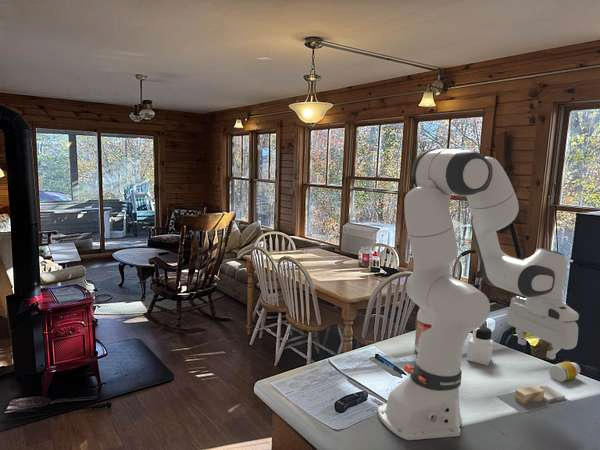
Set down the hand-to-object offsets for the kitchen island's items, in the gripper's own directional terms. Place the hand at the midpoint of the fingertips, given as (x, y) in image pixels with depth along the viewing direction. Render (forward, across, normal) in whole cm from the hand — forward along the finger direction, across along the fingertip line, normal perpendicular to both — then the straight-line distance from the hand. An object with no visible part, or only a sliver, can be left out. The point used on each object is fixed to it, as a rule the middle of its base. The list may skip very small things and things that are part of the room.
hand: (535, 350), depth 120 cm
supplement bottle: (+12, -6, +19) cm, 24 cm away
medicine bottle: (+16, -26, +7) cm, 31 cm away
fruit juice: (+16, -37, -7) cm, 41 cm away
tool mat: (+16, 0, +2) cm, 16 cm away
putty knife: (+15, 0, +3) cm, 15 cm away
